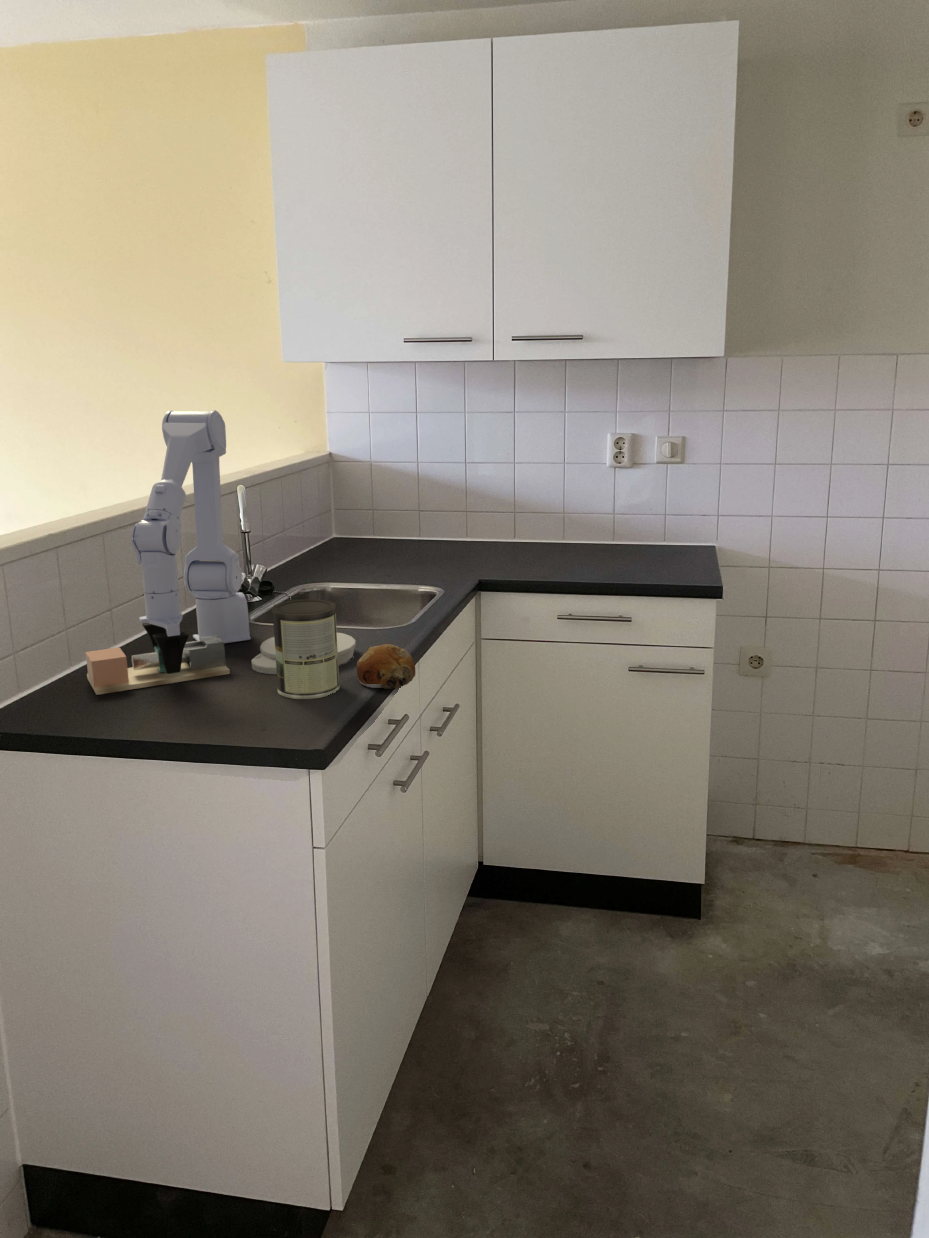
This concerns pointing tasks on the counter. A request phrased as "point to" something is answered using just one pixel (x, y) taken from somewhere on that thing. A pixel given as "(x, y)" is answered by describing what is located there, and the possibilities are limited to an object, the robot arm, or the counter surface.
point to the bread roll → (386, 666)
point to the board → (158, 678)
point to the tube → (156, 659)
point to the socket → (107, 667)
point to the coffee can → (306, 648)
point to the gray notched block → (206, 653)
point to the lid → (268, 657)
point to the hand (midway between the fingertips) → (168, 666)
